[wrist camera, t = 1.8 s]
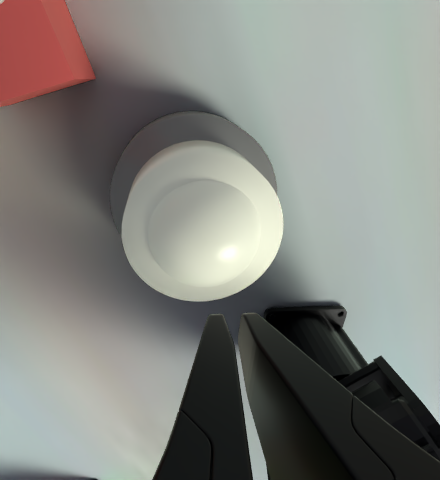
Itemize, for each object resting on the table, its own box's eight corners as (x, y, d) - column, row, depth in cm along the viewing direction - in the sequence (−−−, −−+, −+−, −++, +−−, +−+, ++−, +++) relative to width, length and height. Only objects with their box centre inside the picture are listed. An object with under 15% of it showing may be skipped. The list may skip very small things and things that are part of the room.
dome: (274, 144, 16) (317, 170, 12) (255, 268, 19) (283, 326, 15) (125, 135, 15) (109, 160, 10) (130, 269, 18) (120, 333, 13)
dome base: (276, 117, 18) (289, 122, 17) (255, 256, 22) (264, 273, 20) (110, 104, 17) (103, 108, 15) (119, 257, 21) (114, 275, 19)
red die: (50, -34, 14) (5, -78, 10) (96, 78, 16) (74, 79, 12) (-50, -4, 14) (-137, -36, 10) (9, 105, 16) (-43, 114, 12)
